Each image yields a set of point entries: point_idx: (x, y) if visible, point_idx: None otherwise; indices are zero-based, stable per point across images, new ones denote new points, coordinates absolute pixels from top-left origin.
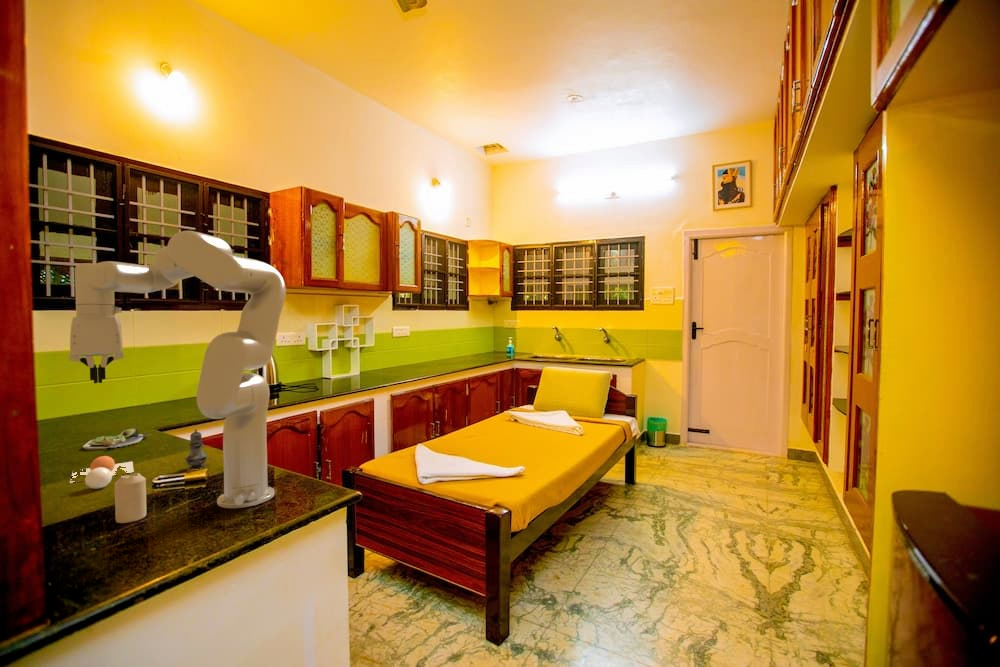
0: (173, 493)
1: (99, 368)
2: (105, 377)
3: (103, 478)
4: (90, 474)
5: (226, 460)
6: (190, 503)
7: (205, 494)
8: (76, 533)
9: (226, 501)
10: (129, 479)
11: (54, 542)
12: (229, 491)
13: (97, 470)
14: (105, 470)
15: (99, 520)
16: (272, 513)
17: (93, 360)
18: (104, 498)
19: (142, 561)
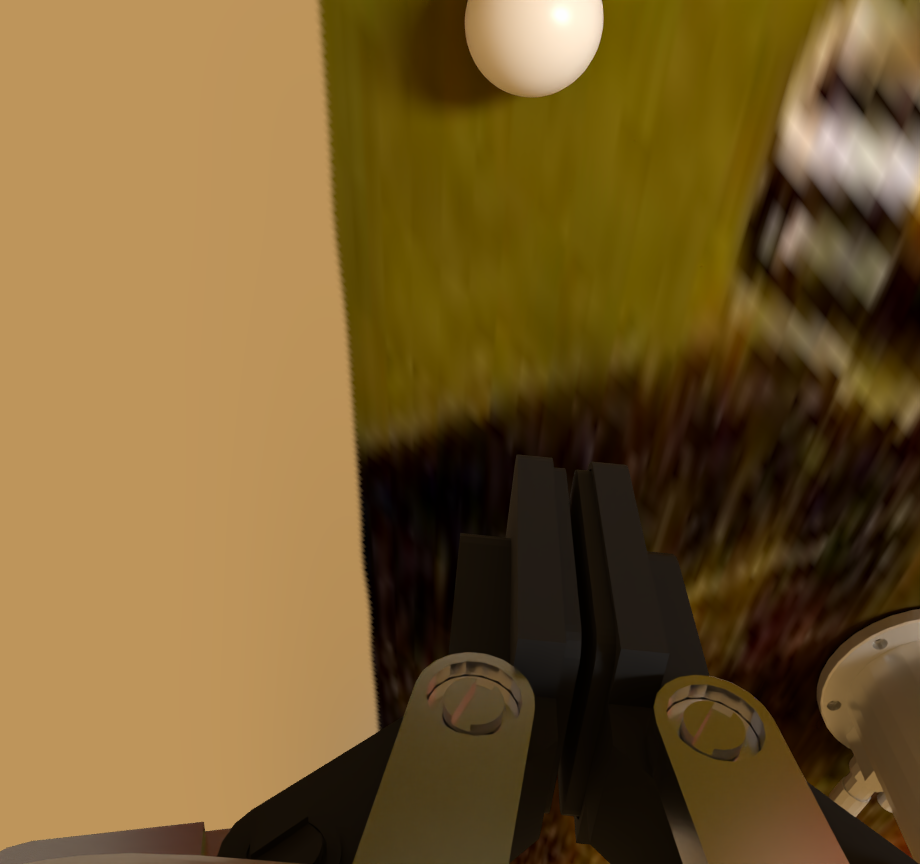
0: (773, 421)
1: (584, 828)
2: (672, 568)
3: (551, 93)
4: (489, 63)
5: (912, 852)
6: (768, 586)
7: (854, 530)
8: (424, 597)
9: (841, 709)
10: None
11: (372, 622)
12: (863, 746)
13: (526, 64)
14: (568, 61)
15: (489, 533)
16: (890, 820)
17: (509, 840)
18: (532, 262)
19: (540, 850)
